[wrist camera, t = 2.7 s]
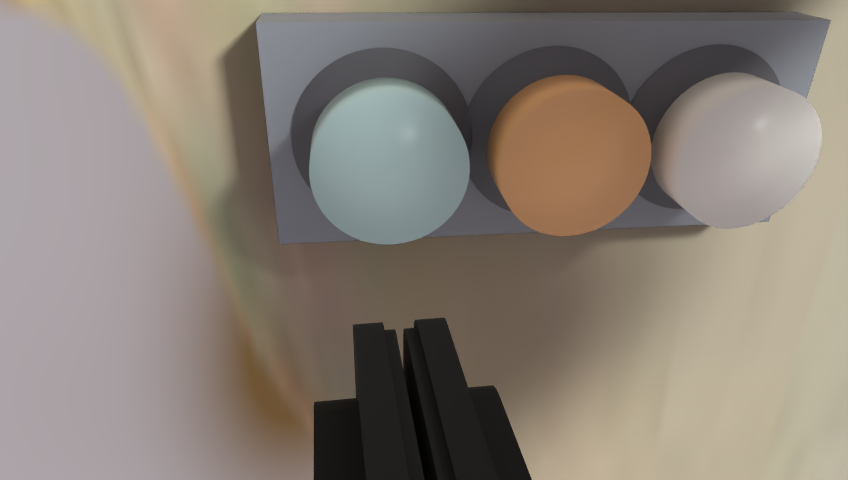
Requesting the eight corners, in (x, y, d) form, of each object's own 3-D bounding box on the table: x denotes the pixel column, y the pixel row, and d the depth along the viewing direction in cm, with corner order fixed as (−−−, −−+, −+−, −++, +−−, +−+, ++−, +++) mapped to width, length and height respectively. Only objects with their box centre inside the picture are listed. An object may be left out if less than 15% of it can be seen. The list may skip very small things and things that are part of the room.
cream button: (801, 71, 22) (842, 85, 20) (762, 201, 24) (796, 225, 22) (665, 73, 21) (695, 88, 19) (639, 207, 24) (664, 231, 22)
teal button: (461, 76, 20) (474, 92, 19) (455, 215, 23) (466, 240, 21) (305, 78, 20) (303, 95, 18) (316, 221, 22) (314, 248, 20)
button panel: (794, 11, 24) (832, 20, 22) (741, 201, 28) (770, 222, 26) (261, 13, 22) (255, 23, 20) (282, 220, 25) (278, 245, 24)
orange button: (637, 73, 21) (665, 89, 19) (613, 208, 23) (636, 232, 22) (491, 75, 20) (507, 91, 19) (482, 213, 23) (495, 239, 21)
